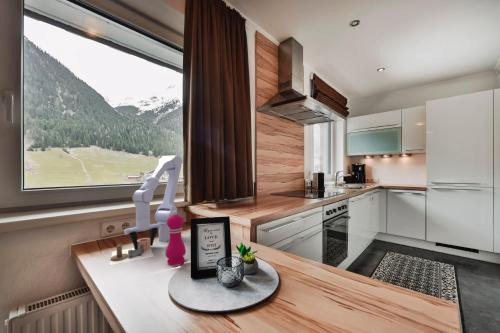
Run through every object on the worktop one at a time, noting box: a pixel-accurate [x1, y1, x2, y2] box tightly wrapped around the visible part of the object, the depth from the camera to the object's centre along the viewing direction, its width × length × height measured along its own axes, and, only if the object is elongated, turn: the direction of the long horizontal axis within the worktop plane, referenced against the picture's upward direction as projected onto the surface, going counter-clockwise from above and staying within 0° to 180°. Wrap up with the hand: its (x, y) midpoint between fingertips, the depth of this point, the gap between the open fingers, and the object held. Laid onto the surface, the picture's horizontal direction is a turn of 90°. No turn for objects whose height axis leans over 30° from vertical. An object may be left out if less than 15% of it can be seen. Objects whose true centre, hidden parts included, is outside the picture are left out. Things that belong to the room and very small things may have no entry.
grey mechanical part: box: [128, 245, 144, 258], centre depth 90 cm, size 6×5×3 cm
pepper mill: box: [165, 210, 187, 268], centre depth 82 cm, size 7×7×20 cm
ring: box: [137, 237, 152, 251], centre depth 96 cm, size 6×6×4 cm
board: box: [109, 247, 154, 266], centre depth 91 cm, size 15×16×1 cm
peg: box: [110, 244, 128, 261], centre depth 87 cm, size 6×6×5 cm
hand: (143, 247), depth 96 cm, fingers closed on ring, 6 cm apart
